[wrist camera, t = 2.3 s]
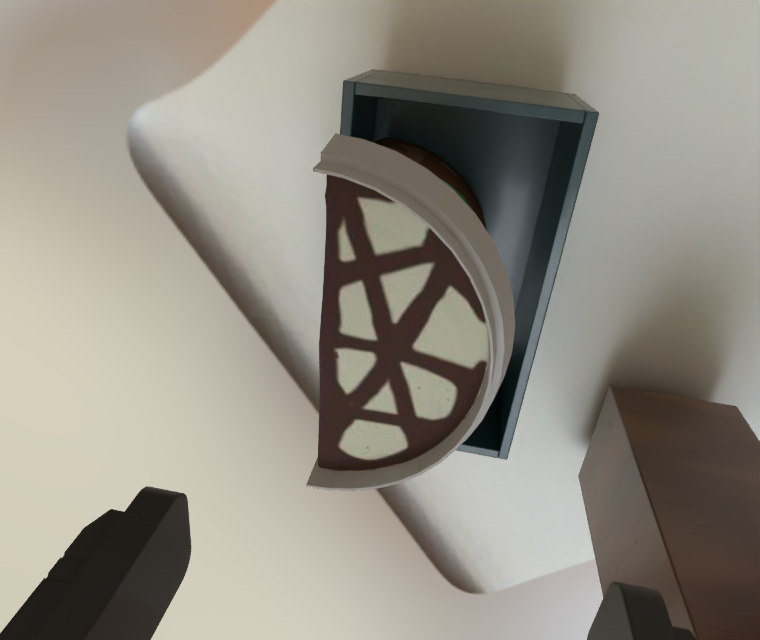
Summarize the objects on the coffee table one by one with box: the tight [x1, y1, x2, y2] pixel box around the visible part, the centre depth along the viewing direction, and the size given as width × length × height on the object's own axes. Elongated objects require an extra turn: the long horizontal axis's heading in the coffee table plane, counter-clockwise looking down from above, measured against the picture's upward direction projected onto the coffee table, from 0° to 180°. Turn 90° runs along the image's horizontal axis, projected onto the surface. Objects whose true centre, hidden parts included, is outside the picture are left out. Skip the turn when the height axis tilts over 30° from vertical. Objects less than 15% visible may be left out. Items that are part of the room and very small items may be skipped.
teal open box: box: [340, 69, 599, 459], centre depth 24 cm, size 8×14×5 cm, turn 174°
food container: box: [306, 134, 515, 491], centre depth 22 cm, size 12×6×10 cm, turn 175°
